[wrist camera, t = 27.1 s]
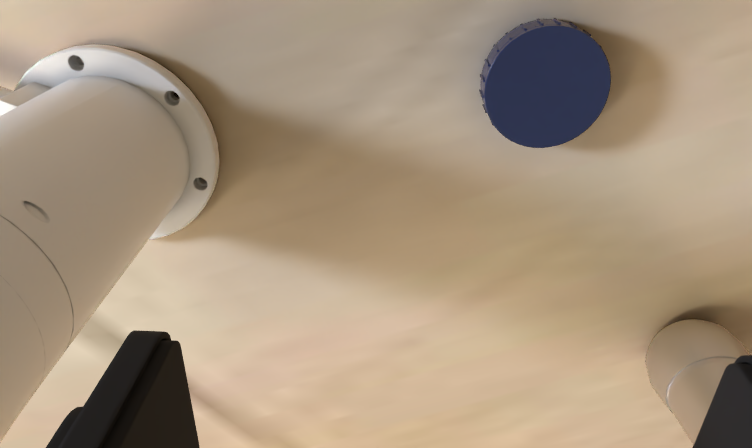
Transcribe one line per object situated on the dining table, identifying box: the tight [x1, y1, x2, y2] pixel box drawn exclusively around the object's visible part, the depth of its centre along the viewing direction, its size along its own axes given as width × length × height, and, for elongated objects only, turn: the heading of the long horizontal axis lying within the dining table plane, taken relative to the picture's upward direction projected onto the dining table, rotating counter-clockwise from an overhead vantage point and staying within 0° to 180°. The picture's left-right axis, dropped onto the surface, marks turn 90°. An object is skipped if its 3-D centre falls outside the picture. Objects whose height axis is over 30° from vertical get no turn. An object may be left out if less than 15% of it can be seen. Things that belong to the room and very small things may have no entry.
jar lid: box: [479, 18, 611, 148], centre depth 33 cm, size 7×7×2 cm
